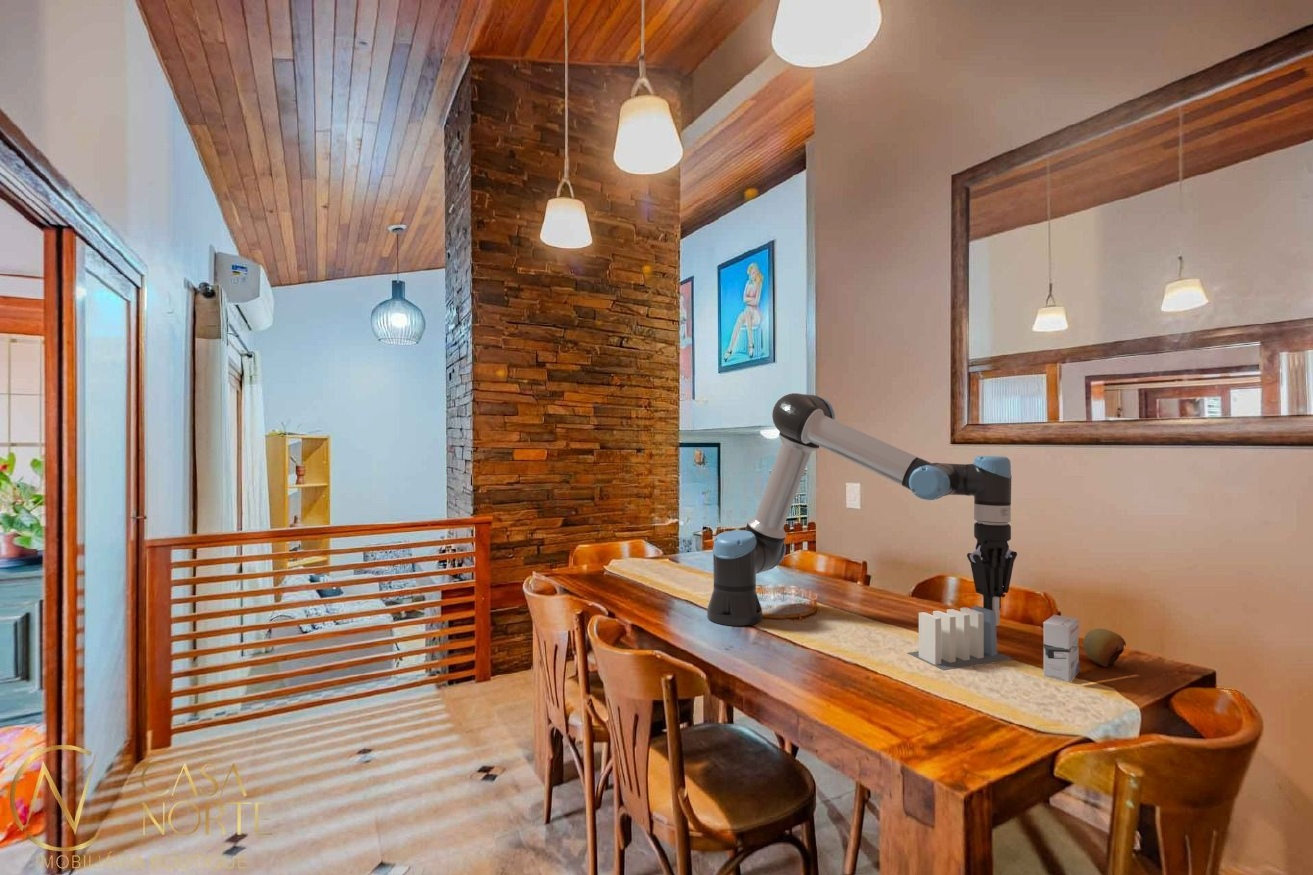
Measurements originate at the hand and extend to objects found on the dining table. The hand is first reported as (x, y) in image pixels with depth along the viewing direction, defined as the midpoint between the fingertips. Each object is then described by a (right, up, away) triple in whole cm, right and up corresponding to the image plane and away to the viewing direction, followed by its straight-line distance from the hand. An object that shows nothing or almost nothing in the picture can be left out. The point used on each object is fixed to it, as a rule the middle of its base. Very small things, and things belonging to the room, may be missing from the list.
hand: (991, 623), depth 142 cm
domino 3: (-10, -6, -3) cm, 12 cm away
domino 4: (-6, -6, -2) cm, 9 cm away
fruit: (+20, -7, -8) cm, 23 cm away
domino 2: (-13, -6, -5) cm, 15 cm away
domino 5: (-2, -6, -1) cm, 7 cm away
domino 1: (-17, -6, -6) cm, 19 cm away
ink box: (+7, -7, -14) cm, 17 cm away
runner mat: (-9, -7, -3) cm, 12 cm away
